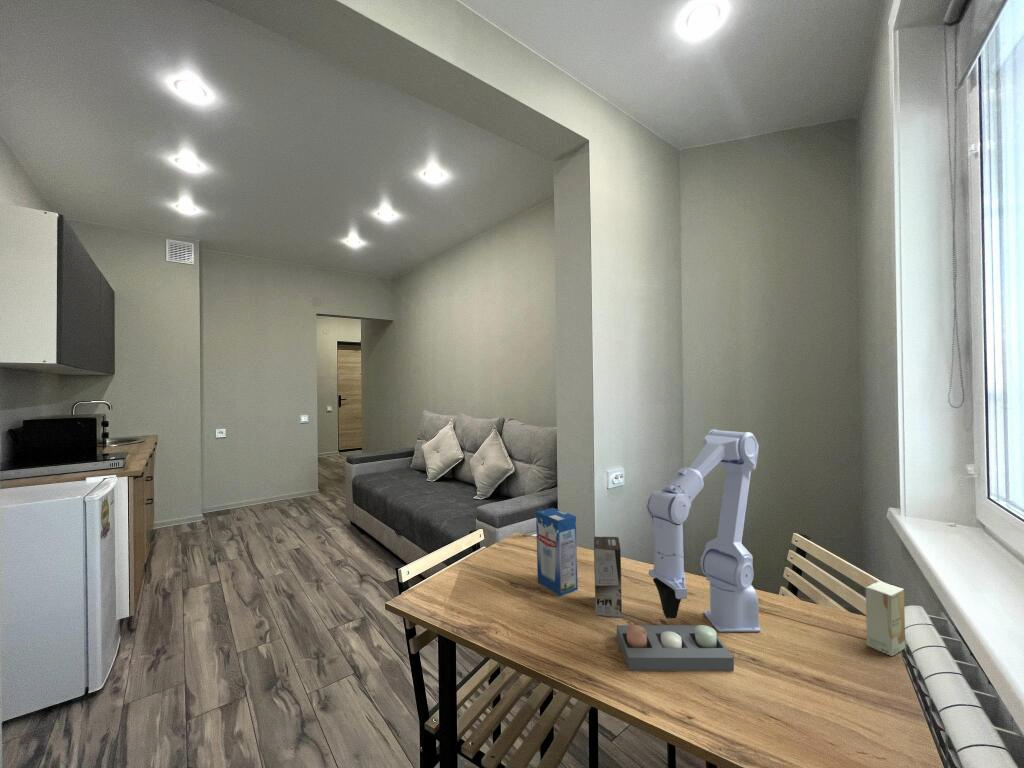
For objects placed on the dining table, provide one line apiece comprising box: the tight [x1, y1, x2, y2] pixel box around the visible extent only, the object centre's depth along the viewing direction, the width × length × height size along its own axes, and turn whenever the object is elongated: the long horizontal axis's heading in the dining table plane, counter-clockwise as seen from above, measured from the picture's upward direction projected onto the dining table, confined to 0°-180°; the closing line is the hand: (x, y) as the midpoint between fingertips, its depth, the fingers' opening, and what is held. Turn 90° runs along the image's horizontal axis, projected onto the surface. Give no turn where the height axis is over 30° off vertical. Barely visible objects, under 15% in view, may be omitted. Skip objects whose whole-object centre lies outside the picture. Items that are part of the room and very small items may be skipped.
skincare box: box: [865, 580, 906, 657], centre depth 87 cm, size 6×4×12 cm
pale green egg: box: [695, 624, 717, 648], centre depth 86 cm, size 4×4×3 cm
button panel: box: [616, 624, 735, 672], centre depth 86 cm, size 20×11×2 cm, turn 88°
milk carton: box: [535, 507, 578, 597], centre depth 116 cm, size 10×6×20 cm, turn 33°
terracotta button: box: [627, 624, 647, 648], centre depth 87 cm, size 4×4×3 cm
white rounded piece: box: [661, 631, 682, 648], centre depth 86 cm, size 4×4×3 cm
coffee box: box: [593, 536, 623, 618], centre depth 105 cm, size 9×6×16 cm
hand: (670, 616), depth 86 cm, fingers closed
